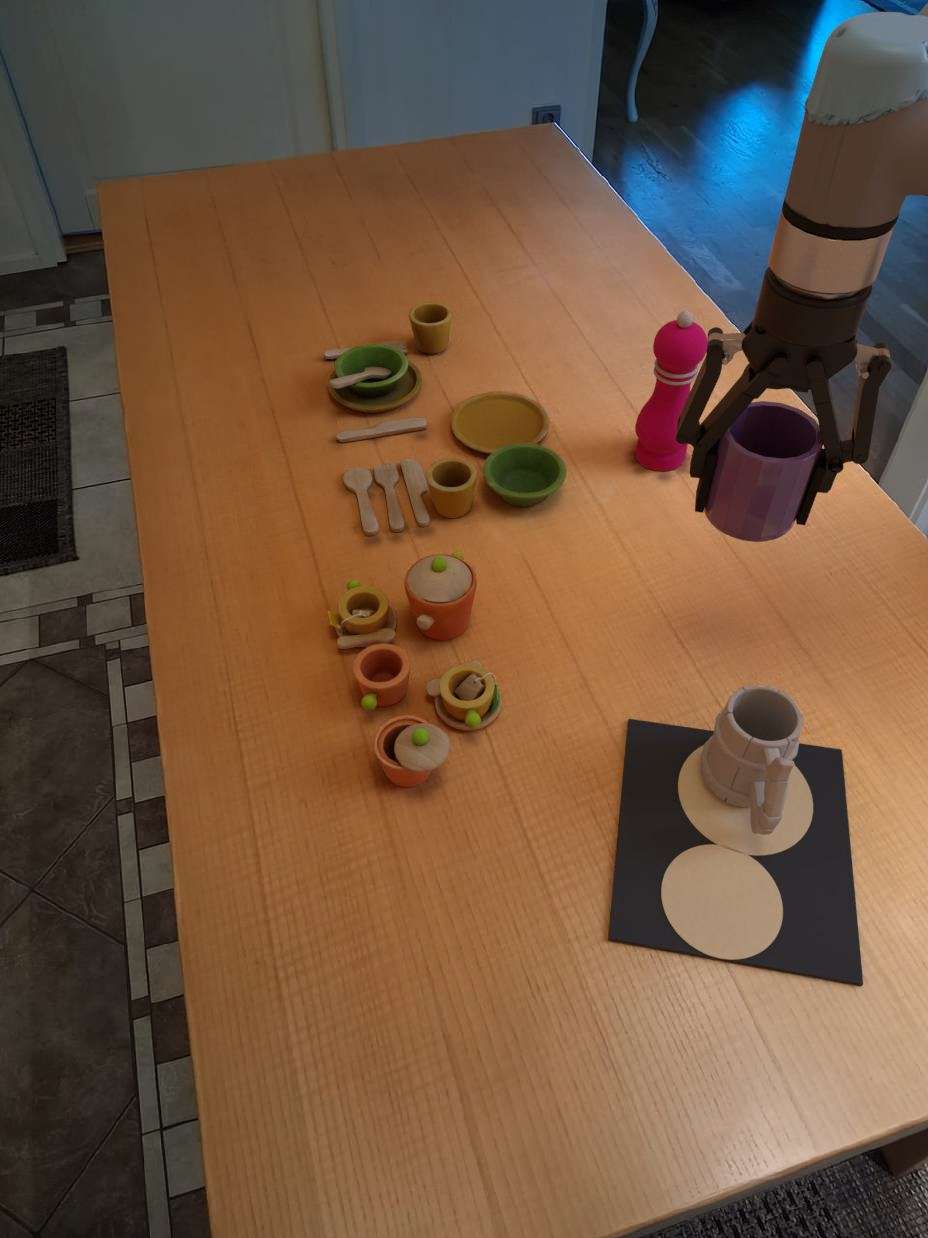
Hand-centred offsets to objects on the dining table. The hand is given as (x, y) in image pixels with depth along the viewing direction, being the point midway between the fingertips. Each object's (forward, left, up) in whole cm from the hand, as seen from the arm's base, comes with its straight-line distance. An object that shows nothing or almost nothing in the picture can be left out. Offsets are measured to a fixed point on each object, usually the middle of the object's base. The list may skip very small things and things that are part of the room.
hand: (749, 508), depth 81 cm
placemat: (-2, +24, -17) cm, 30 cm away
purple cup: (0, 0, 0) cm, 0 cm away
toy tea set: (+29, +12, -18) cm, 36 cm away
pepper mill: (+7, -28, -18) cm, 34 cm away
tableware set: (+36, -30, -18) cm, 50 cm away
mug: (-3, +19, -17) cm, 26 cm away
